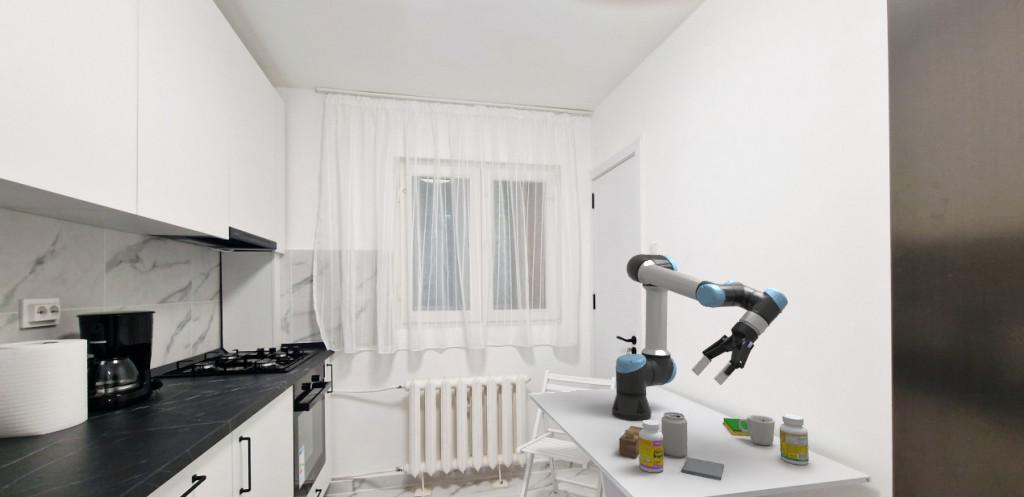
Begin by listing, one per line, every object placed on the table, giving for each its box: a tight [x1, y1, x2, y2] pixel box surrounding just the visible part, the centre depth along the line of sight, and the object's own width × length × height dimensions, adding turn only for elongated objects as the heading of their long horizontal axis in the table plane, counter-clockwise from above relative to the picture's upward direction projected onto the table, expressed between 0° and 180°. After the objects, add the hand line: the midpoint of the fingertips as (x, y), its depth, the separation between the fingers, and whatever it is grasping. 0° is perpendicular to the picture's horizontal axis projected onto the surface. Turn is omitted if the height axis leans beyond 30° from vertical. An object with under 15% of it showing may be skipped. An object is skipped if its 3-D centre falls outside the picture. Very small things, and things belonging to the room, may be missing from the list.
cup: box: [739, 414, 776, 446], centre depth 147 cm, size 11×8×8 cm
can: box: [661, 411, 689, 458], centre depth 137 cm, size 8×8×12 cm
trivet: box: [681, 456, 725, 481], centre depth 125 cm, size 10×10×1 cm
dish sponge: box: [722, 417, 750, 437], centre depth 160 cm, size 7×14×2 cm, turn 167°
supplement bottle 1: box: [638, 419, 664, 473], centre depth 126 cm, size 7×7×13 cm
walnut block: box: [618, 425, 643, 460], centre depth 140 cm, size 14×5×7 cm, turn 150°
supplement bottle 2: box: [779, 413, 810, 466], centre depth 132 cm, size 7×7×13 cm
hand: (705, 377), depth 139 cm, fingers open, 13 cm apart
